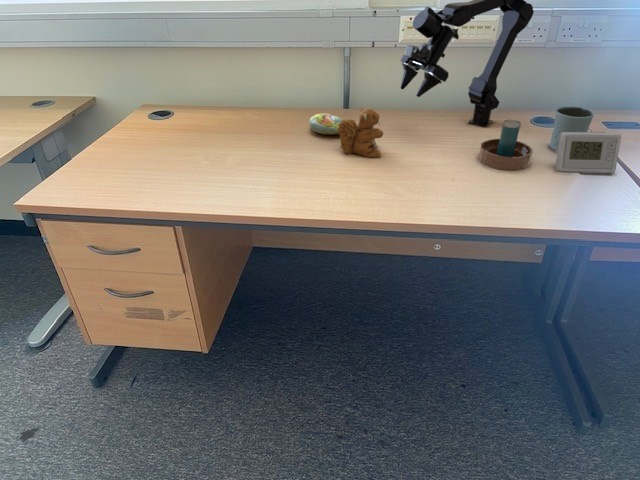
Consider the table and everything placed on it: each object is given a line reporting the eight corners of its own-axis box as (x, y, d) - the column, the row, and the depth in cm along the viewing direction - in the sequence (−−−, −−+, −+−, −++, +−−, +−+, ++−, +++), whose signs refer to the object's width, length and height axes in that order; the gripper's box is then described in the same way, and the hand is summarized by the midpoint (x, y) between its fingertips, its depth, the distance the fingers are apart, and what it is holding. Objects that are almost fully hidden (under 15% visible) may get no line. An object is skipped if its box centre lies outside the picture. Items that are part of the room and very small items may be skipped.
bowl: (488, 148, 144) (491, 135, 141) (535, 159, 136) (539, 145, 134) (470, 164, 134) (473, 150, 132) (519, 176, 127) (523, 162, 125)
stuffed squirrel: (382, 157, 140) (385, 115, 132) (336, 157, 140) (336, 115, 133) (381, 145, 148) (383, 104, 140) (337, 145, 149) (337, 104, 141)
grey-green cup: (586, 148, 142) (598, 110, 136) (575, 158, 136) (587, 119, 130) (553, 140, 148) (563, 103, 141) (541, 150, 142) (551, 112, 135)
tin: (498, 155, 138) (506, 118, 131) (514, 159, 135) (523, 121, 129) (492, 161, 135) (500, 123, 128) (509, 165, 132) (517, 126, 126)
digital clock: (552, 173, 129) (562, 137, 123) (549, 160, 136) (558, 125, 130) (616, 180, 124) (630, 143, 118) (610, 166, 131) (623, 130, 125)
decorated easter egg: (329, 114, 166) (351, 110, 153) (329, 136, 167) (351, 134, 154) (302, 113, 161) (322, 108, 148) (302, 136, 162) (322, 133, 149)
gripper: (402, 27, 143) (376, 74, 147) (438, 37, 128) (408, 88, 133) (425, 45, 149) (400, 89, 154) (462, 56, 135) (432, 104, 139)
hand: (409, 92), depth 145 cm, fingers open, 9 cm apart
